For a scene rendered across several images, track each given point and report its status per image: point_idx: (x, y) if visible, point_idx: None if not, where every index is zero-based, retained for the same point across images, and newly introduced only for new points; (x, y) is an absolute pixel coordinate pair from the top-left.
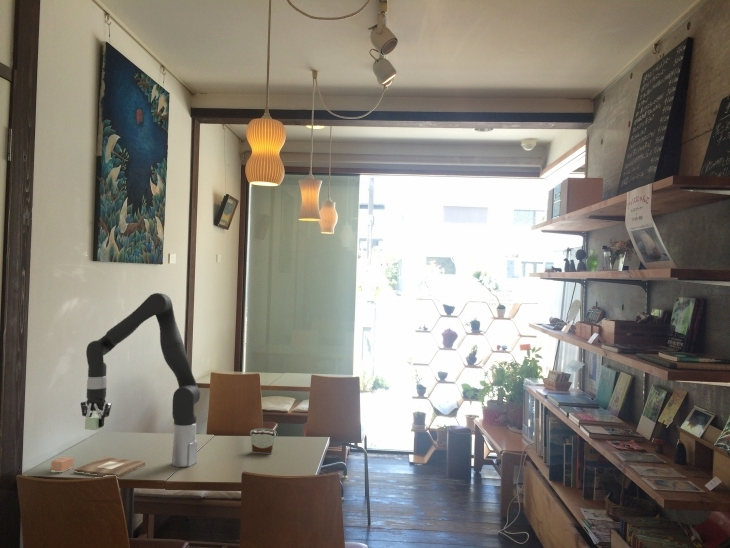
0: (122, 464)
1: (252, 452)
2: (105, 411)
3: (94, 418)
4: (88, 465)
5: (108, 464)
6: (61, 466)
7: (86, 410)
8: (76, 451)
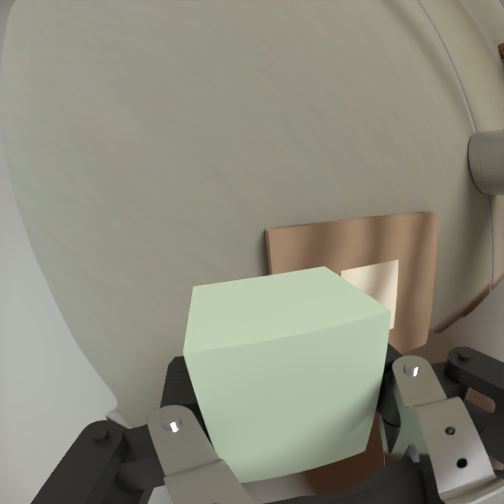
0: (398, 274)
1: (502, 59)
2: (490, 433)
3: (330, 448)
4: None
5: None
6: None
7: (87, 487)
8: (48, 184)
